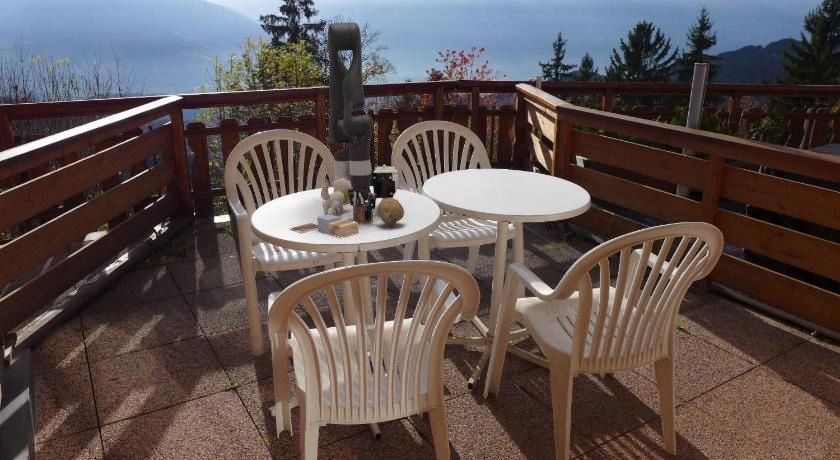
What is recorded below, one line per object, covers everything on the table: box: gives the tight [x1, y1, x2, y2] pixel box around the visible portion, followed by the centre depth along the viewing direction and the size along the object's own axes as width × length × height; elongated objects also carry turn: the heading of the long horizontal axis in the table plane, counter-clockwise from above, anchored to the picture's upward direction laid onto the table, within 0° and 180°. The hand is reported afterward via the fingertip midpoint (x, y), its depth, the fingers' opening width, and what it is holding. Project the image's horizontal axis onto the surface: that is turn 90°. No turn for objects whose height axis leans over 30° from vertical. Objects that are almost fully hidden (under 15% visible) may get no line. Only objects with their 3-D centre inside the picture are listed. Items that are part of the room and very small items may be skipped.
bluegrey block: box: [316, 213, 341, 234], centre depth 196 cm, size 5×5×6 cm
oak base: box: [328, 218, 359, 238], centre depth 192 cm, size 7×7×4 cm
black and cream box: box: [372, 164, 400, 202], centre depth 218 cm, size 18×8×18 cm, turn 177°
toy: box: [320, 175, 353, 216], centre depth 214 cm, size 9×19×15 cm, turn 161°
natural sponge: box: [377, 197, 405, 227], centre depth 199 cm, size 9×9×10 cm
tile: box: [289, 222, 318, 234], centre depth 200 cm, size 7×9×1 cm
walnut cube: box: [352, 202, 374, 225], centre depth 206 cm, size 5×5×6 cm
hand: (363, 218), depth 206 cm, fingers closed on walnut cube, 5 cm apart
